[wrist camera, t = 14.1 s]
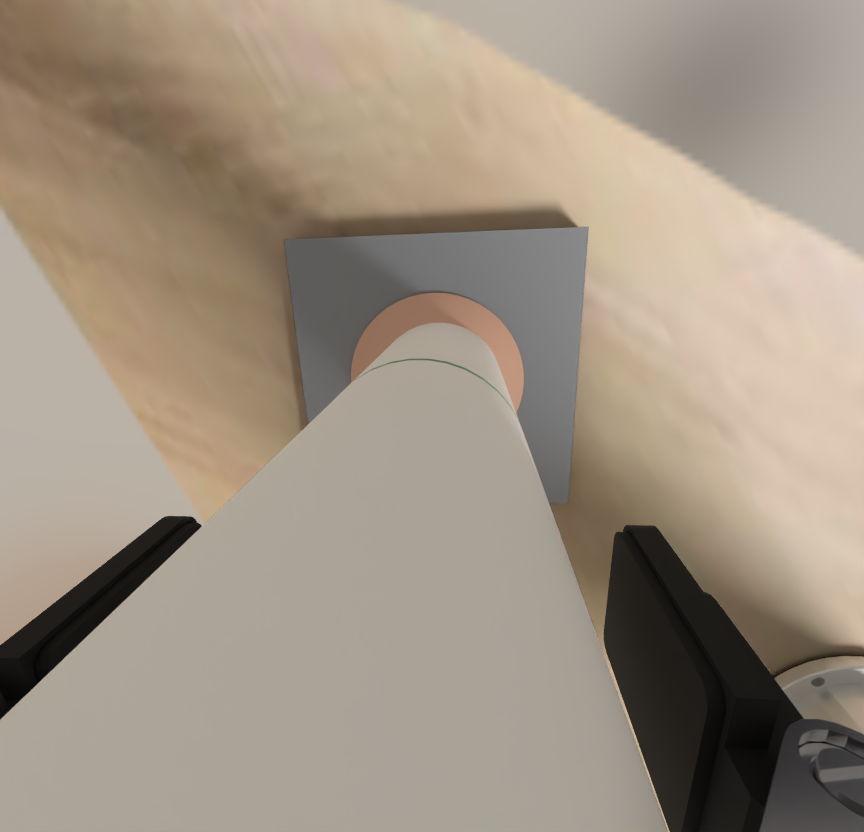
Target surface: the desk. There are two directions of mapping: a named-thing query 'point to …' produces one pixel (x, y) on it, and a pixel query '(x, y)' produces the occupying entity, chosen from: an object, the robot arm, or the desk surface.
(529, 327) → the board
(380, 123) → the desk surface
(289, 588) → the cylindrical container
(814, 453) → the desk surface
